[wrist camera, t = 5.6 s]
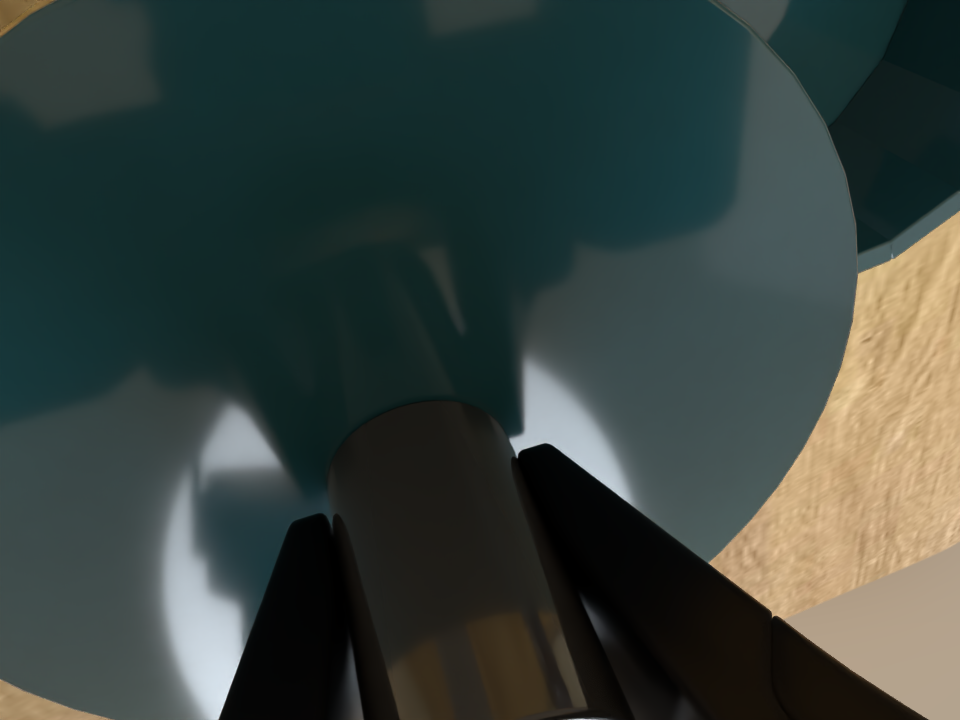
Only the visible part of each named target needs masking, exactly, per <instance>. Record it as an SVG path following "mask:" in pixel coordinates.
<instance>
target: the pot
mask: <svg viewBox="0 0 960 720" xmlns="http://www.w3.org/2000/svg"><path fill="white" fill-rule="evenodd" d="M719 1H720V2H722V3H723V4H724V5H726V6H727V7H728V8H730V9H731V10H732V11H734V12H735V13H737V14H738V15H739V16H741V17H742V18H743V19H745V20H746V21H747V22H749V23H750V25H751V26H752V27H753V28H754V29H755V30H756V31H757V32H758V33H759V34H760V35H761V36H762V38H763V39H764V40H765V41H766V42H767V43H768V44H769V45H770V46H771V47H772V48H773V49H774V50H775V52H776V53H777V54H778V55H779V56H780V57H781V58H782V59H783V60H784V61H785V62H786V63H787V65H788V66H789V67H790V68H791V69H792V70H793V71H794V73H795V75H796V76H797V78H798V79H799V81H800V82H801V84H802V86H803V87H804V89H805V90H806V92H807V94H808V95H809V97H810V98H811V100H812V102H813V103H814V105H815V106H816V108H817V110H818V111H819V113H820V114H821V116H822V118H823V119H824V121H825V123H826V126H827V128H828V131H829V133H830V136H831V138H832V141H833V143H834V146H835V148H836V151H837V153H838V156H839V158H840V161H841V163H842V166H843V168H844V171H845V174H846V177H847V182H848V187H849V192H850V197H851V202H852V207H853V212H854V217H855V222H856V232H857V260H858V273H861V272H863V271H866V270H868V269H871V268H873V267H876V266H878V265H881V264H883V263H886V262H888V261H890V260H891V259H895V258H896V257H897V256H899V255H900V254H901V253H903V252H904V251H906V250H907V249H908V248H910V247H911V246H912V245H914V244H915V243H917V242H918V241H919V240H921V239H922V238H923V237H925V236H926V235H927V234H929V233H930V232H932V231H933V230H934V229H936V228H937V227H938V226H940V225H941V224H943V223H944V222H945V221H947V220H948V219H949V218H951V217H952V216H954V215H955V214H956V213H958V212H959V211H960V0H719Z"/></svg>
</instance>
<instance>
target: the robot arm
mask: <svg viewBox="0 0 960 720" xmlns="http://www.w3.org/2000/svg"><path fill="white" fill-rule="evenodd" d="M518 460H519V463H520V465H521V467H522V469H523V471H524V474H525V476H526V478H527V480H528V483H529V485H530V487H531V489H532V491H533V494H534V496H535V498H536V500H537V503H538V505H539V507H540V509H541V511H542V514H543V516H544V518H545V520H546V523H547V525H548V527H549V529H550V531H551V534H552V536H553V538H554V540H555V542H556V545H557V547H558V549H559V551H560V553H561V555H562V557H563V560H564V562H565V564H566V566H567V568H568V570H569V572H570V574H571V577H572V579H573V581H574V583H575V586H576V588H577V590H578V592H579V594H580V597H581V599H582V601H583V603H584V606H585V608H586V610H587V612H588V614H589V617H590V619H591V621H592V623H593V626H594V628H595V630H596V632H597V634H598V637H599V639H600V641H601V643H602V645H603V648H604V650H605V652H606V654H607V657H608V659H609V661H610V663H611V665H612V668H613V670H614V672H615V674H616V677H617V679H618V681H619V683H620V685H621V688H622V690H623V692H624V694H625V697H626V699H627V701H628V703H629V705H630V708H631V710H632V712H633V714H634V716H635V719H636V720H928V719H927V718H925V717H923V716H922V715H920V714H918V713H917V712H915V711H914V710H912V709H910V708H909V707H907V706H905V705H904V704H902V703H901V702H899V701H898V700H896V699H895V698H893V697H892V696H890V695H889V694H887V693H885V692H884V691H882V690H881V689H879V688H878V687H876V686H875V685H873V684H872V683H870V682H868V681H867V680H865V679H864V678H862V677H861V676H859V675H858V674H856V673H855V672H853V671H851V670H850V669H849V668H847V667H846V666H845V665H843V664H842V663H840V662H839V661H838V660H836V659H835V658H834V657H832V656H831V655H829V654H828V653H826V652H825V651H824V650H822V649H821V648H820V647H818V646H817V645H815V644H814V643H813V642H811V641H810V640H808V639H807V638H806V637H805V636H803V635H802V634H801V633H799V632H798V631H797V630H795V629H794V628H793V627H791V626H790V625H789V624H788V623H786V622H785V621H784V620H782V619H781V618H780V617H778V616H774V617H773V618H772V613H771V611H770V610H769V609H767V608H766V607H765V606H764V605H762V604H761V603H760V602H758V601H757V600H756V599H754V598H753V597H752V596H750V595H749V594H748V593H746V592H745V591H744V590H742V589H741V588H740V587H739V586H737V585H736V584H735V583H733V582H732V581H731V580H729V579H728V578H727V577H725V576H724V575H723V574H721V573H720V572H719V571H717V570H716V569H715V568H714V567H712V566H711V565H710V564H708V563H707V562H706V561H704V560H703V559H702V558H700V557H699V556H698V555H696V554H695V553H694V552H692V551H691V550H690V549H688V548H687V547H686V546H685V545H683V544H682V543H681V542H679V541H678V540H677V539H675V538H674V537H673V536H671V535H670V534H669V533H667V532H666V531H665V530H663V529H662V528H661V527H660V526H658V525H657V524H656V523H654V522H653V521H652V520H650V519H649V518H648V517H646V516H645V515H644V514H642V513H641V512H640V511H638V510H637V509H636V508H635V507H633V506H632V505H631V504H629V503H628V502H627V501H625V500H624V499H623V498H621V497H620V496H619V495H617V494H616V493H615V492H613V491H612V490H611V489H610V488H608V487H607V486H606V485H604V484H603V483H602V482H600V481H599V480H598V479H596V478H595V477H594V476H592V475H591V474H590V473H588V472H587V471H586V470H585V469H583V468H582V467H581V466H579V465H578V464H577V463H575V462H574V461H573V460H571V459H570V458H569V457H567V456H566V455H565V454H563V453H562V452H561V451H560V450H558V449H557V448H556V447H554V446H553V445H551V444H548V443H543V444H540V445H536V446H533V447H530V448H527V449H524V450H521V451H520V452H519V453H518ZM218 720H363V715H362V708H361V702H360V696H359V690H358V683H357V677H356V671H355V665H354V659H353V652H352V646H351V640H350V634H349V627H348V621H347V615H346V609H345V603H344V596H343V590H342V584H341V578H340V572H339V565H338V559H337V553H336V547H335V540H334V534H333V529H332V527H331V524H330V522H329V520H328V518H327V516H326V515H325V514H323V513H317V514H314V515H311V516H307V517H304V518H301V519H298V520H295V521H293V522H292V523H291V524H290V526H289V528H288V530H287V533H286V536H285V539H284V541H283V544H282V547H281V550H280V552H279V555H278V558H277V560H276V563H275V566H274V569H273V571H272V574H271V577H270V580H269V582H268V585H267V588H266V591H265V593H264V596H263V599H262V602H261V604H260V607H259V610H258V613H257V615H256V618H255V621H254V624H253V626H252V629H251V632H250V634H249V637H248V640H247V643H246V645H245V648H244V651H243V654H242V656H241V659H240V662H239V665H238V667H237V670H236V673H235V676H234V678H233V681H232V684H231V687H230V689H229V692H228V695H227V698H226V700H225V703H224V706H223V709H222V711H221V714H220V717H219V719H218Z"/></svg>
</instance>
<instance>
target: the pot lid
mask: <svg viewBox="0 0 960 720" xmlns="http://www.w3.org/2000/svg"><path fill="white" fill-rule="evenodd" d="M857 279H858V260H857V232H856V222H855V217H854V212H853V207H852V202H851V197H850V192H849V187H848V182H847V177H846V174H845V171H844V168H843V166H842V163H841V161H840V158H839V156H838V153H837V151H836V148H835V146H834V143H833V141H832V138H831V136H830V133H829V131H828V128H827V126H826V123H825V121H824V119H823V118H822V116H821V114H820V113H819V111H818V110H817V108H816V106H815V105H814V103H813V102H812V100H811V98H810V97H809V95H808V94H807V92H806V90H805V89H804V87H803V86H802V84H801V82H800V81H799V79H798V78H797V76H796V75H795V73H794V71H793V70H792V69H791V68H790V67H789V66H788V65H787V63H786V62H785V61H784V60H783V59H782V58H781V57H780V56H779V55H778V54H777V53H776V52H775V50H774V49H773V48H772V47H771V46H770V45H769V44H768V43H767V42H766V41H765V40H764V39H763V38H762V36H761V35H760V34H759V33H758V32H757V31H756V30H755V29H754V28H753V27H752V26H751V25H750V23H749V22H747V21H746V20H745V19H743V18H742V17H741V16H739V15H738V14H737V13H735V12H734V11H732V10H731V9H730V8H728V7H727V6H726V5H724V4H723V3H722V2H720V1H719V0H41V1H39V2H38V3H36V4H35V5H34V6H32V7H31V8H30V9H29V10H27V11H26V12H25V13H23V14H22V15H21V16H19V17H18V18H17V19H15V20H14V21H13V22H11V23H10V24H9V25H8V26H6V27H5V28H4V29H2V30H1V31H0V680H2V681H4V682H6V683H8V684H10V685H12V686H14V687H16V688H18V689H20V690H22V691H24V692H27V693H30V694H32V695H35V696H38V697H41V698H43V699H46V700H49V701H51V702H54V703H57V704H60V705H62V706H65V707H68V708H70V709H73V710H77V711H81V712H85V713H89V714H93V715H97V716H100V717H104V718H108V719H112V720H218V719H219V717H220V714H221V711H222V709H223V706H224V703H225V700H226V698H227V695H228V692H229V689H230V687H231V684H232V681H233V678H234V676H235V673H236V670H237V667H238V665H239V662H240V659H241V656H242V654H243V651H244V648H245V645H246V643H247V640H248V637H249V634H250V632H251V629H252V626H253V624H254V621H255V618H256V615H257V613H258V610H259V607H260V604H261V602H262V599H263V596H264V593H265V591H266V588H267V585H268V582H269V580H270V577H271V574H272V571H273V569H274V566H275V563H276V560H277V558H278V555H279V552H280V550H281V547H282V544H283V541H284V539H285V536H286V533H287V530H288V528H289V526H290V524H291V523H292V522H293V521H295V520H298V519H301V518H304V517H307V516H311V515H314V514H317V513H323V514H325V515H326V516H327V518H328V520H329V522H330V524H331V527H332V529H333V534H334V540H335V547H336V553H337V559H338V565H339V572H340V578H341V584H342V590H343V596H344V603H345V609H346V615H347V621H348V627H349V634H350V640H351V646H352V652H353V659H354V665H355V671H356V677H357V683H358V690H359V696H360V702H361V708H362V715H363V720H636V719H635V716H634V714H633V712H632V710H631V708H630V705H629V703H628V701H627V699H626V697H625V694H624V692H623V690H622V688H621V685H620V683H619V681H618V679H617V677H616V674H615V672H614V670H613V668H612V665H611V663H610V661H609V659H608V657H607V654H606V652H605V650H604V648H603V645H602V643H601V641H600V639H599V637H598V634H597V632H596V630H595V628H594V626H593V623H592V621H591V619H590V617H589V614H588V612H587V610H586V608H585V606H584V603H583V601H582V599H581V597H580V594H579V592H578V590H577V588H576V586H575V583H574V581H573V579H572V577H571V574H570V572H569V570H568V568H567V566H566V564H565V562H564V560H563V557H562V555H561V553H560V551H559V549H558V547H557V545H556V542H555V540H554V538H553V536H552V534H551V531H550V529H549V527H548V525H547V523H546V520H545V518H544V516H543V514H542V511H541V509H540V507H539V505H538V503H537V500H536V498H535V496H534V494H533V491H532V489H531V487H530V485H529V483H528V480H527V478H526V476H525V474H524V471H523V469H522V467H521V465H520V463H519V460H518V453H519V452H520V451H521V450H524V449H527V448H530V447H533V446H536V445H540V444H543V443H548V444H551V445H553V446H554V447H556V448H557V449H558V450H560V451H561V452H562V453H563V454H565V455H566V456H567V457H569V458H570V459H571V460H573V461H574V462H575V463H577V464H578V465H579V466H581V467H582V468H583V469H585V470H586V471H587V472H588V473H590V474H591V475H592V476H594V477H595V478H596V479H598V480H599V481H600V482H602V483H603V484H604V485H606V486H607V487H608V488H610V489H611V490H612V491H613V492H615V493H616V494H617V495H619V496H620V497H621V498H623V499H624V500H625V501H627V502H628V503H629V504H631V505H632V506H633V507H635V508H636V509H637V510H638V511H640V512H641V513H642V514H644V515H645V516H646V517H648V518H649V519H650V520H652V521H653V522H654V523H656V524H657V525H658V526H660V527H661V528H662V529H663V530H665V531H666V532H667V533H669V534H670V535H671V536H673V537H674V538H675V539H677V540H678V541H679V542H681V543H682V544H683V545H685V546H686V547H687V548H688V549H690V550H691V551H692V552H694V553H695V554H696V555H698V556H699V557H700V558H702V559H703V560H704V561H706V562H707V563H709V562H710V561H711V560H712V559H713V558H714V557H716V556H717V555H718V554H719V553H720V552H721V551H722V550H723V549H724V548H725V547H726V546H727V545H728V544H729V543H730V542H731V541H732V540H733V539H734V537H735V536H736V535H737V534H738V533H739V532H740V531H741V530H742V529H743V528H744V527H745V526H746V525H747V524H748V523H749V522H750V521H751V520H752V518H753V517H754V516H755V515H756V513H757V512H758V511H759V510H760V508H761V507H762V506H763V505H764V504H765V502H766V501H767V500H768V499H769V497H770V496H771V495H772V494H773V492H774V491H775V490H776V489H777V487H778V486H779V485H780V483H781V482H782V480H783V479H784V477H785V476H786V474H787V473H788V471H789V470H790V468H791V467H792V465H793V464H794V462H795V461H796V459H797V458H798V456H799V455H800V453H801V452H802V450H803V449H804V447H805V445H806V443H807V441H808V439H809V437H810V435H811V433H812V432H813V430H814V428H815V426H816V424H817V422H818V420H819V418H820V416H821V414H822V413H823V411H824V409H825V406H826V404H827V401H828V399H829V396H830V393H831V391H832V388H833V386H834V383H835V381H836V378H837V376H838V373H839V371H840V368H841V365H842V361H843V357H844V353H845V349H846V345H847V342H848V338H849V334H850V330H851V326H852V322H853V314H854V305H855V296H856V288H857Z"/></svg>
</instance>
